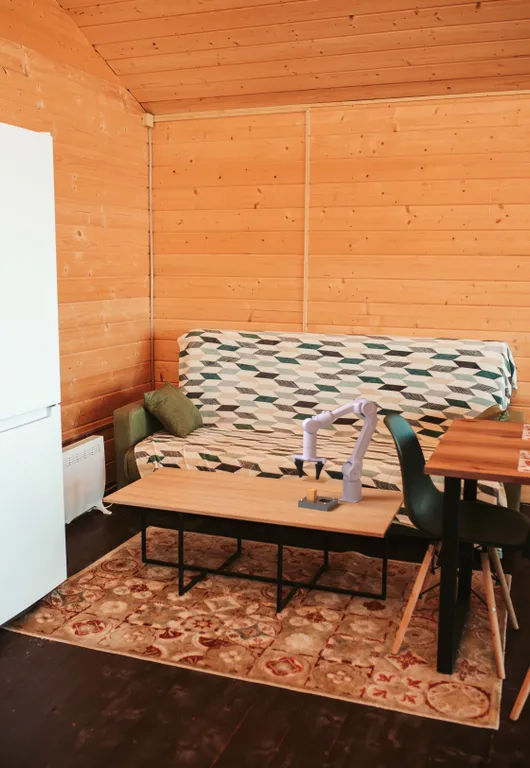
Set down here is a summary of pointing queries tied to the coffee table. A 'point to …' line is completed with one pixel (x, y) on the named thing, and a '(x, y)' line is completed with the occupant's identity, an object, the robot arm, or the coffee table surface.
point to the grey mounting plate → (319, 503)
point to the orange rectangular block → (312, 494)
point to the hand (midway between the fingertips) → (309, 478)
